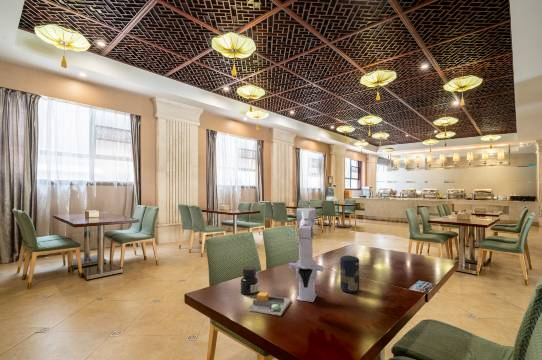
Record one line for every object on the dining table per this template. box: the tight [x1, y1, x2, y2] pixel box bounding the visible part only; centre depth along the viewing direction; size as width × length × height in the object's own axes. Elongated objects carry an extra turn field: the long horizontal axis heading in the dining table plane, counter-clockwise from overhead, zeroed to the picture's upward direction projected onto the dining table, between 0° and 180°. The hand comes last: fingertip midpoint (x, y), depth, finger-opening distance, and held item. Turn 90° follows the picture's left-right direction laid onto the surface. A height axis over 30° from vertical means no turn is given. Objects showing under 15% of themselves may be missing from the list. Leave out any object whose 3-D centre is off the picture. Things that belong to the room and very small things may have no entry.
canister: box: [339, 254, 360, 294], centre depth 139 cm, size 10×10×18 cm
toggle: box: [256, 291, 269, 302], centre depth 120 cm, size 4×4×3 cm
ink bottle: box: [240, 266, 259, 296], centre depth 136 cm, size 10×9×12 cm
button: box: [271, 304, 279, 310], centre depth 112 cm, size 3×3×1 cm
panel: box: [249, 295, 292, 317], centre depth 119 cm, size 16×14×3 cm
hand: (305, 286), depth 113 cm, fingers closed
